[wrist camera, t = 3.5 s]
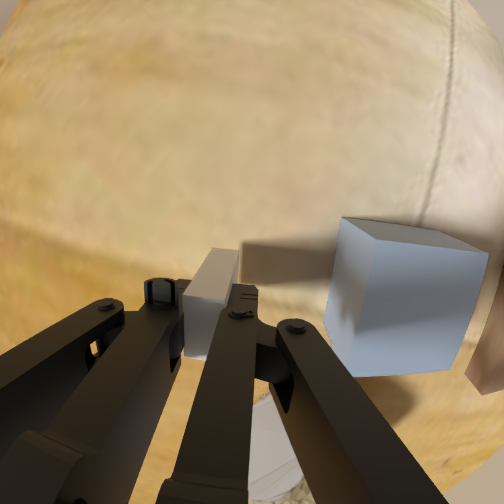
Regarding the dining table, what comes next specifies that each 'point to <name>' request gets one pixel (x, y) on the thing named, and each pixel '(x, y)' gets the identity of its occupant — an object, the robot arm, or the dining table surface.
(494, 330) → the brown wavy bar
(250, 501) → the cut rock
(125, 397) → the robot arm
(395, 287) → the block
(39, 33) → the dining table surface
